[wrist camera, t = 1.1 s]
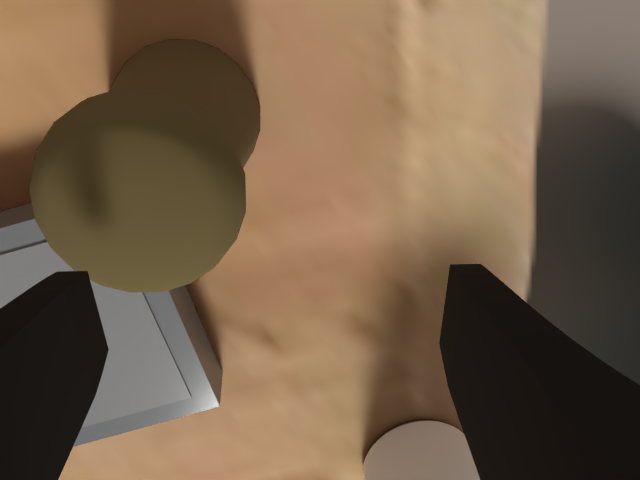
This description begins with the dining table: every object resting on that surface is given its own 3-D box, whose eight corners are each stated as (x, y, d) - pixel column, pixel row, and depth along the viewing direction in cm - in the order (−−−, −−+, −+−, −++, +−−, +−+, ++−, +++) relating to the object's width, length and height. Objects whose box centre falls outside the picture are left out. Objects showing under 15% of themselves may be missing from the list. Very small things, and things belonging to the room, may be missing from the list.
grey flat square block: (15, 429, 28) (-7, 470, 26) (-111, 243, 23) (-152, 271, 21) (222, 372, 28) (219, 407, 26) (138, 173, 23) (124, 194, 21)
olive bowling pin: (113, 23, 21) (-21, 56, 11) (271, 54, 22) (283, 110, 12) (106, 175, 23) (-10, 317, 13) (249, 197, 24) (243, 343, 14)
